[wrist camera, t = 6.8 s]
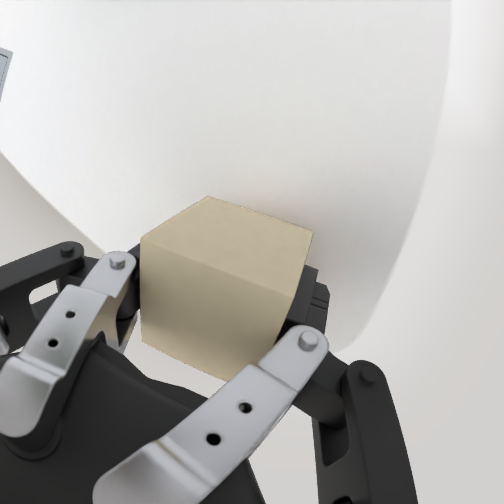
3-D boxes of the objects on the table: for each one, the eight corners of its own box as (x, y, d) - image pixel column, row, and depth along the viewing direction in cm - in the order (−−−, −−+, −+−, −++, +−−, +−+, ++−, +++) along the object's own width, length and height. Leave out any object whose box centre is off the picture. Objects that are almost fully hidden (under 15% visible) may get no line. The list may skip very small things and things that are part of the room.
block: (314, 231, 11) (294, 297, 7) (281, 317, 13) (252, 392, 9) (207, 195, 11) (139, 237, 8) (193, 282, 14) (141, 342, 10)
